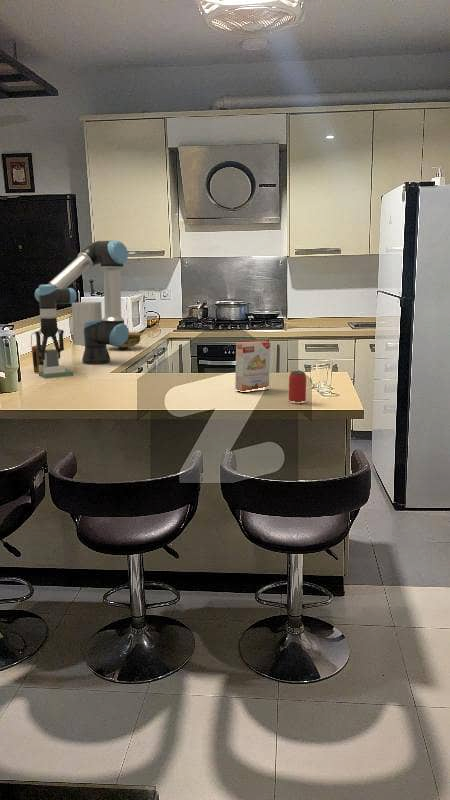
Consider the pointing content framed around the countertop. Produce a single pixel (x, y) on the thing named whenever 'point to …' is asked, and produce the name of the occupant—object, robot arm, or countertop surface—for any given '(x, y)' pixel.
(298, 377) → the beer can
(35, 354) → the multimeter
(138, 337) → the ceramic bowl
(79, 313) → the tall grey upright block
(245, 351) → the cracker box
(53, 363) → the plug
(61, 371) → the board
